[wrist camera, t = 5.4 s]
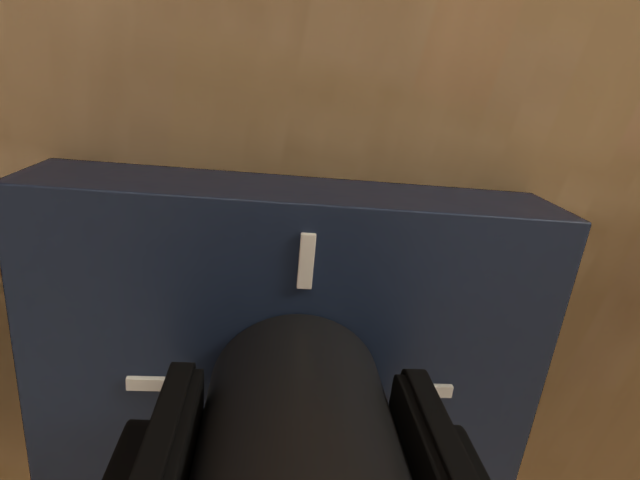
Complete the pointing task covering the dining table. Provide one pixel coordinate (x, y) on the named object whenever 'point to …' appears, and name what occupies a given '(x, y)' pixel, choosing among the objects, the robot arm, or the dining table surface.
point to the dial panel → (271, 291)
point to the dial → (297, 408)
